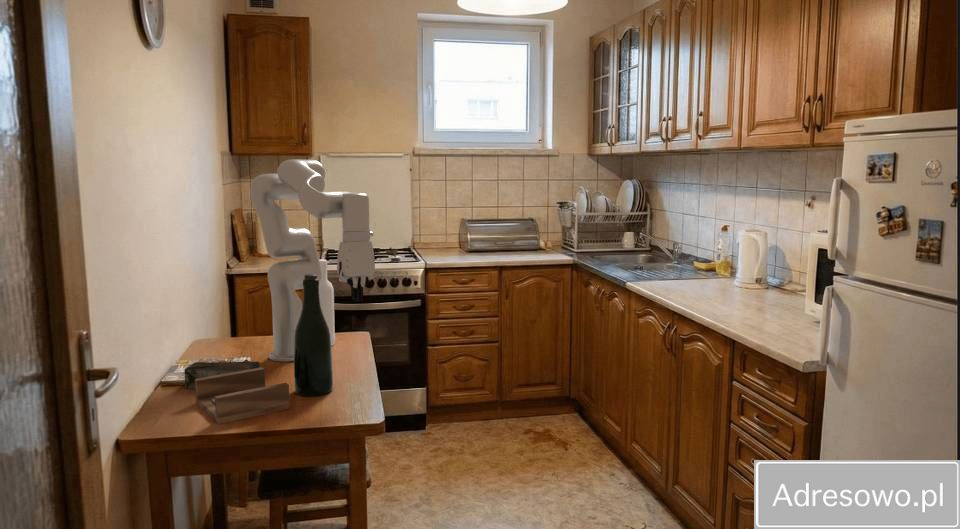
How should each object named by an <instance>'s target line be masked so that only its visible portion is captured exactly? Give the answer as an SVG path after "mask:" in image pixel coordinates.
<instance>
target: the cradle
mask: <svg viewBox="0 0 960 529" xmlns="http://www.w3.org/2000/svg"><path fill="white" fill-rule="evenodd" d="M265 371H266V370H265V368H264V367H259V368H255V369H249V370H244V371H238V372H232V373H227V374H221V375H215V376H209V377H204V378H198V379H195V390H194V392H195V404H197V405H198V406H199V407H200V408H201V409H202V411H204V413H206V415H208V416H209V417H210V418H211V419H213V420H214V422H215V423H217V425H222V424H225V423H227V424H228V423H232V422H235V421H240V420H245V419H249V418H253V417H258V416H259V417H260V416H263V415H268V414H272V413H277V412H281V411H286V410H290V385H289V384H288V383H287V382H283V383H276V384H272V385H266V373H265Z"/></svg>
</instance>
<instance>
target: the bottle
mask: <svg viewBox="0 0 960 529" xmlns="http://www.w3.org/2000/svg"><path fill="white" fill-rule="evenodd" d="M319 262H320V266H321V272H322V278H321V281H320V283H319V298H320V305H321V309H322V313H323V315H324V318H325V320H326V322H327V325H328V327H329V331H330V336H331V347H332V346H334V345H335V342H336V335H335V333H336V332H335V329H336V328H335V292H334V291H335V290H334V286H333V284H332V283H331V281H329V280H328V261H327V259H320V258H319Z"/></svg>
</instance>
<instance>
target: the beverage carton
mask: <svg viewBox="0 0 960 529" xmlns="http://www.w3.org/2000/svg"><path fill="white" fill-rule="evenodd" d="M255 368H260V362H259V361H250V360H245V361H210V362H208V361H207V362H205V361H203V362H201V361H195V362H193V363H192V364H189V365H188V366H187V367H186V368H184V370H183V371H184V384H185V385H184V386H185V389H186V390H187V389H188V390H190V389H192V390H193V389H195V379H198V378H204V377H209V376H215V375H221V374H227V373H232V372H238V371H244V370H249V369H255Z"/></svg>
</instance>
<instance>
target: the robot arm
mask: <svg viewBox="0 0 960 529" xmlns="http://www.w3.org/2000/svg"><path fill="white" fill-rule="evenodd" d="M325 178H326V172H325V168H324V166H323V165H322V163H320V162H319V161H318V160H316V159H300V158H299V159H297V158H296V159H293V158H292V159H287V160H284V161H283V162H281V163H280V164H279V165H278V167H277V173H264V174H260V175H257V176H255V177H254V178H253V179H252V181H251V182H250V192H249V194H250V195H249V196H250V198H251V204H252V205H253V208H254V210H255V212H256V214H257V216H258V219H259V222H260V227H261V232H262V236H263V241H264V244H265V248H266V251H267V254H268V255H269V257H271V258H274V259H285V258H286V259H287V258H298V259H296V260H285V261H278V262H276V263H273V264H272V265H271V266H270V267H269V268H268V270H267V282H268V285H269V286H268V287H269V289H270V290H269V291H270V296H271V311H272V312H271V313H272V314H271V315H272V337H273V339H272V340H273V344H272V345H273V351H271V352H269V354H268V359H269V360H271V361H275V362H281V363H282V362H286V363H287V362H294V334H295V329H296V326H297V323H298V320H299V318H300V315H301V311H302V306H303V301H302V299H301V298H300V296H299V295H298V294H297V292H296V290H300V289H301V290H303V280H304V279H305V278H304V276H305V275H307V274H316V275H317V279H318V280H319V283H320V281H321V278H322V272H321V266H320V262H319V260H320V257H319V253H318V248H317V245H316V241H315V238H314V236H313V234H312V232H311V231H310V230H309V229H307V228H305V227H292V228H291V227H290V224H289V222H288V217H287V214H286V212H285V210H284V209H283V208H282V206H280V205H279V204H278V203H277V202H276V201H286V200H298V201H299V203H300V206H301V207H302V209H303V210H304V211H306V212H307V213H308V214H310V215H311V216H313V217H314V218H318V219H334V218H337V219H338V218H339V219H341V218H342V219H341V220H342V221H341V222H342V223H341V224H342V241H340V242H339V245H338V251H337V260H336V263H337V264H336V271H337V276H339V277H338V281H339V282H341V283H347V284H348V285H349V287H350V289H351V290H350V292H351V294H350V296H351V299H352V301H354V302H363V298H364V287H365V285H366V284H367V283H368V282H369V281H370V280H373V279H375V272H376V262H375V261H376V260H375V251H374V246H373V242H372V241H371V238H372V237H374V232H373V231H371V230H370V198H369V195H368V194H367V193H364V192H363V193H362V192H352V191H346V190H345V191H344V190H343V191H325V187H326V181H325Z"/></svg>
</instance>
